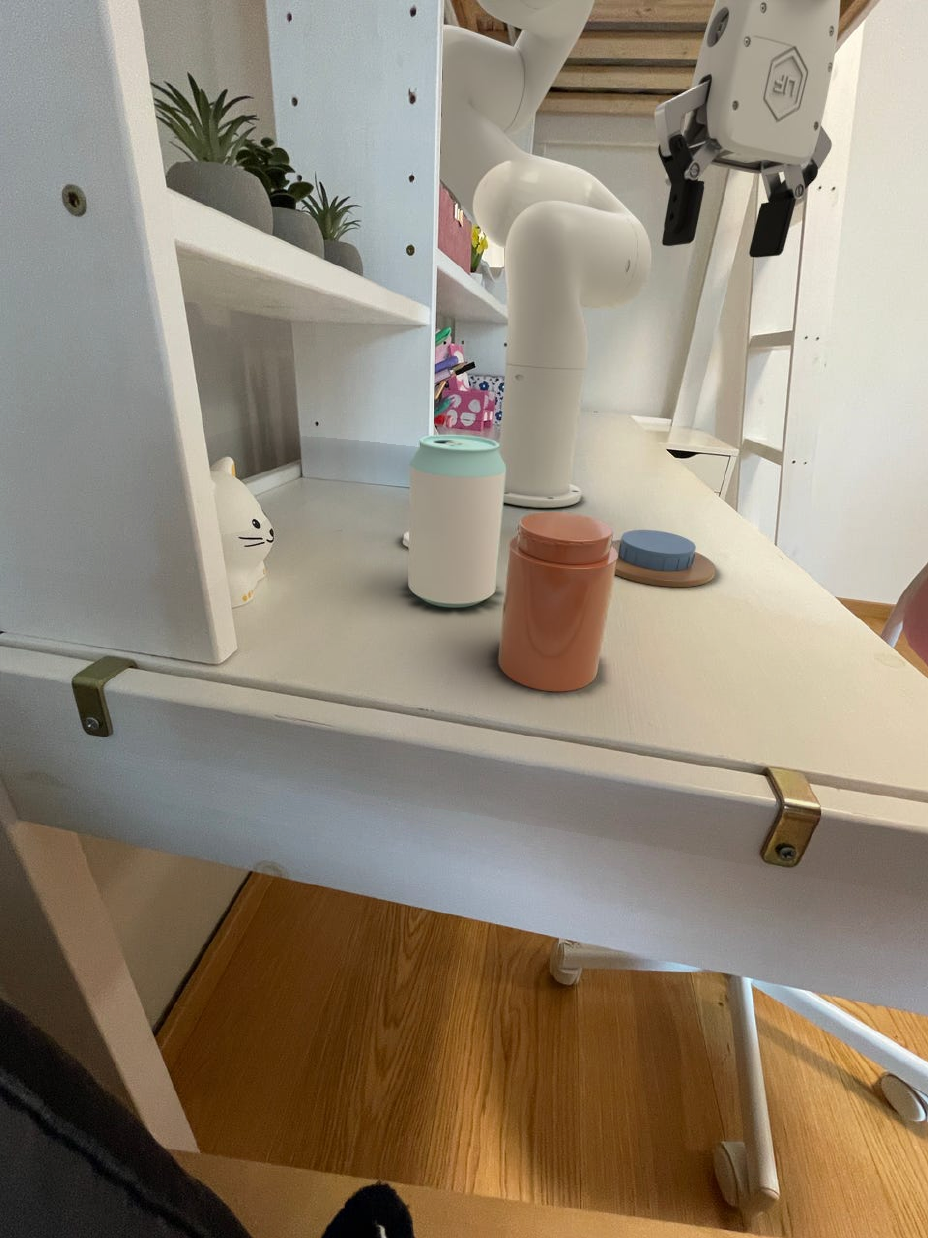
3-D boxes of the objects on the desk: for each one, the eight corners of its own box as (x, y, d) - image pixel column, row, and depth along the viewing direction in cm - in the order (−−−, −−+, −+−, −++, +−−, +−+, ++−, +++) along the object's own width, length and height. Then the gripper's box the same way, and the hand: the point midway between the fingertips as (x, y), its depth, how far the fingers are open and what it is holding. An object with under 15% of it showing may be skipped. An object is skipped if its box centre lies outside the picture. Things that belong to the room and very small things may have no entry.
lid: (705, 571, 53) (709, 553, 53) (634, 571, 52) (638, 553, 52) (672, 546, 59) (676, 529, 59) (608, 545, 58) (611, 529, 58)
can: (399, 606, 45) (400, 444, 39) (417, 572, 51) (420, 429, 45) (491, 616, 44) (505, 453, 39) (498, 580, 50) (511, 436, 45)
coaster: (575, 547, 59) (576, 542, 59) (668, 542, 62) (669, 536, 62) (634, 591, 50) (636, 585, 49) (740, 582, 53) (742, 576, 53)
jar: (484, 645, 40) (495, 511, 36) (569, 636, 42) (589, 507, 38) (520, 697, 34) (537, 546, 30) (615, 684, 36) (644, 540, 32)
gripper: (730, -99, 36) (670, 234, 43) (913, -22, 42) (832, 257, 50) (651, -39, 42) (611, 243, 50) (821, 20, 48) (762, 263, 56)
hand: (722, 250), depth 50 cm, fingers open, 9 cm apart
